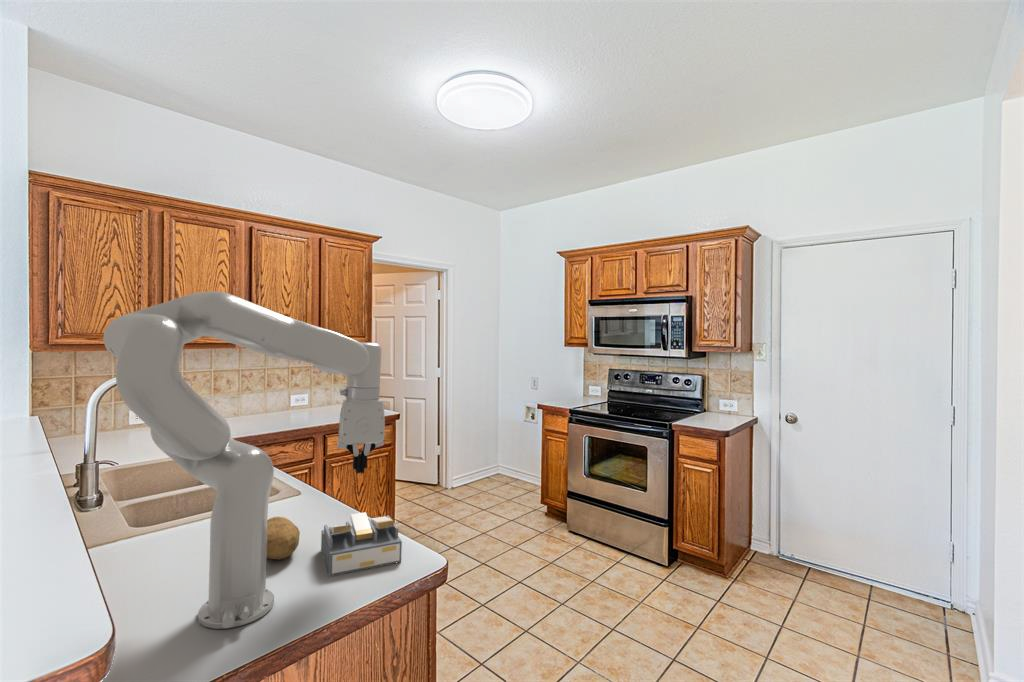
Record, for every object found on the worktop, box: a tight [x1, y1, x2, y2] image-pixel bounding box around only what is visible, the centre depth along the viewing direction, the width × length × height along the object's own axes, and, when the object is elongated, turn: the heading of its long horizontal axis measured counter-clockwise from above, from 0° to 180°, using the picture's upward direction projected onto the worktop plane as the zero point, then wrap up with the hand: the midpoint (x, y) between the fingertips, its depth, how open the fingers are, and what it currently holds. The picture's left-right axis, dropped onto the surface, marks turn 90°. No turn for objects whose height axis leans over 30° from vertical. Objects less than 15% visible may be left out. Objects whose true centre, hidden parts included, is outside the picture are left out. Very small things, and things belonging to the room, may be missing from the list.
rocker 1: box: [328, 524, 352, 534], centre depth 113 cm, size 8×4×1 cm, turn 29°
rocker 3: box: [370, 515, 395, 529], centre depth 118 cm, size 8×4×1 cm, turn 29°
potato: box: [266, 516, 301, 561], centre depth 114 cm, size 10×14×8 cm
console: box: [320, 514, 403, 577], centre depth 115 cm, size 14×16×7 cm
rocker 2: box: [350, 511, 373, 540], centre depth 115 cm, size 8×4×1 cm, turn 28°
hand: (359, 471), depth 114 cm, fingers closed
